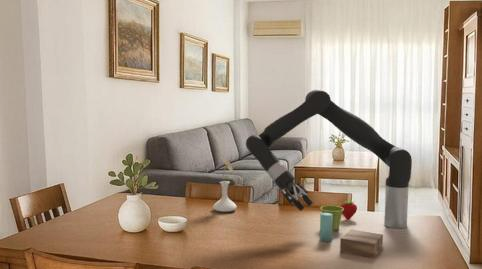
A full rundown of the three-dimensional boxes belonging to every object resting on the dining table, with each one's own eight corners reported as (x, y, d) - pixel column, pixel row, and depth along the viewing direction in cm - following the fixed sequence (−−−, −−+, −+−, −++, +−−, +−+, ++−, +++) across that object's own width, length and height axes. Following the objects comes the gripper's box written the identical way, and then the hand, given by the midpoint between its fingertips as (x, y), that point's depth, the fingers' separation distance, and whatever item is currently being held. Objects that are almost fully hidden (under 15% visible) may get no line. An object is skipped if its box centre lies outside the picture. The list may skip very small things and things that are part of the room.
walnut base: (350, 242, 176) (350, 229, 176) (382, 247, 170) (382, 234, 170) (340, 251, 166) (340, 238, 165) (373, 258, 160) (374, 244, 159)
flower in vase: (236, 213, 216) (236, 160, 213) (211, 213, 216) (211, 160, 213) (237, 206, 229) (237, 156, 226) (213, 206, 229) (213, 156, 226)
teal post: (322, 237, 182) (322, 212, 181) (333, 239, 180) (334, 213, 179) (318, 240, 178) (318, 215, 177) (329, 242, 176) (330, 216, 175)
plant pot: (343, 232, 188) (343, 211, 187) (319, 231, 190) (320, 210, 189) (343, 226, 197) (343, 206, 196) (320, 224, 199) (320, 204, 198)
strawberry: (358, 221, 203) (358, 199, 202) (340, 221, 203) (341, 199, 202) (355, 218, 209) (355, 196, 208) (338, 217, 209) (338, 196, 208)
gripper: (278, 172, 179) (306, 205, 174) (294, 166, 191) (320, 197, 186) (266, 184, 182) (293, 217, 177) (282, 178, 194) (307, 208, 190)
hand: (306, 206), depth 182 cm, fingers open, 8 cm apart
